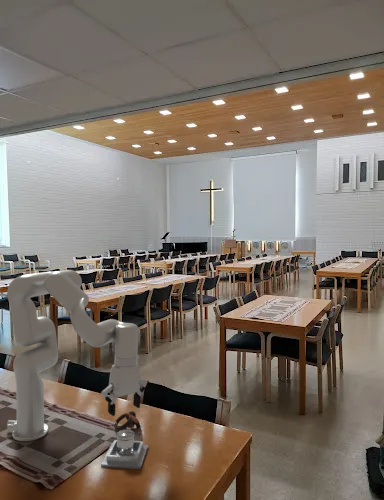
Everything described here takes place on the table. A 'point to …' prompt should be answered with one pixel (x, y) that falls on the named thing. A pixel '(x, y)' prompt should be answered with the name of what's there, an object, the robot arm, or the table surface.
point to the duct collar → (125, 457)
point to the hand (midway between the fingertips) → (124, 410)
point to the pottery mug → (128, 422)
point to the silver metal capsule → (125, 443)
